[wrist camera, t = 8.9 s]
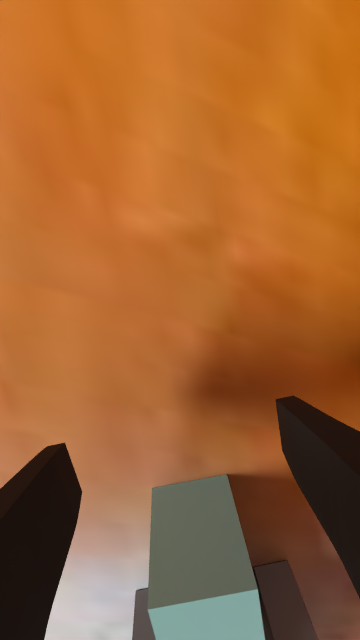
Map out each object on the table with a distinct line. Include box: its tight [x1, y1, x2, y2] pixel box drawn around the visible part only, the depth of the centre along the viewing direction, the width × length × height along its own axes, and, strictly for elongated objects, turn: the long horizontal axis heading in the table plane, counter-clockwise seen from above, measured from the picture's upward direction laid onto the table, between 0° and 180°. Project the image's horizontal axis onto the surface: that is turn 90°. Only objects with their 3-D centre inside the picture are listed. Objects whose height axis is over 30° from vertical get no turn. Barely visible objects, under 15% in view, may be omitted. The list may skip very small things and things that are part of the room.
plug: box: [148, 474, 265, 640], centre depth 16 cm, size 4×10×6 cm, turn 10°
